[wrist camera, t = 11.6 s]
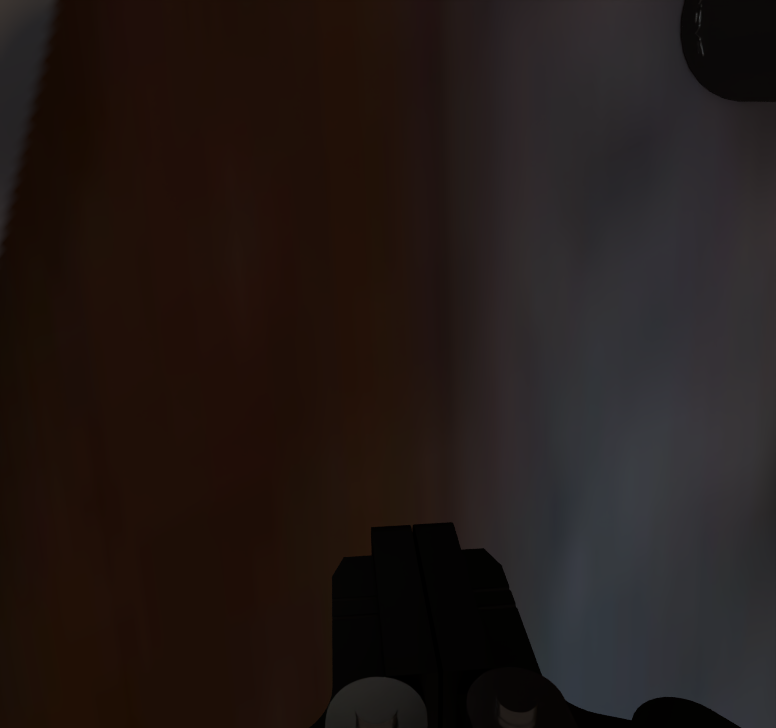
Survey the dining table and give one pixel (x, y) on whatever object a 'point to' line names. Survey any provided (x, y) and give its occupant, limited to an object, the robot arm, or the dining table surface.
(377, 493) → the dining table surface
